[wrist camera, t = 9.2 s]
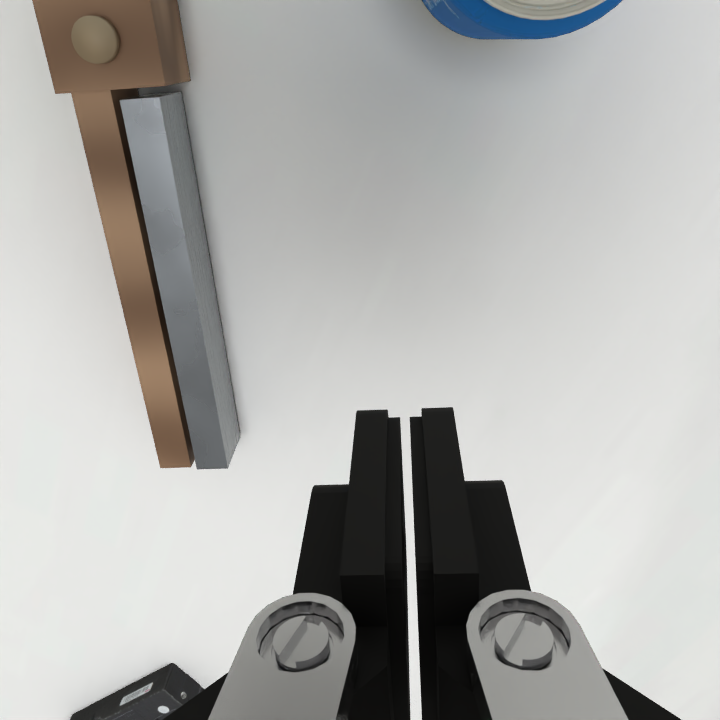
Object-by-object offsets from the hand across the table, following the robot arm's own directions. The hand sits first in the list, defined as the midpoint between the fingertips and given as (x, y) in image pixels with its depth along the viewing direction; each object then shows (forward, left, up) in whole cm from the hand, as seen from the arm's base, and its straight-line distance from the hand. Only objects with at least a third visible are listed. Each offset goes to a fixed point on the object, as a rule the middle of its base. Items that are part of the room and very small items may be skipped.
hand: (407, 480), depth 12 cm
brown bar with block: (+2, -11, -21) cm, 24 cm away
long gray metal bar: (+3, -10, -21) cm, 23 cm away
